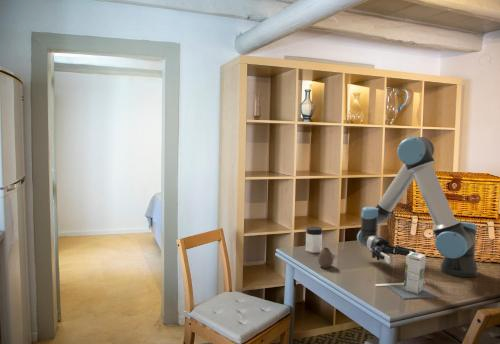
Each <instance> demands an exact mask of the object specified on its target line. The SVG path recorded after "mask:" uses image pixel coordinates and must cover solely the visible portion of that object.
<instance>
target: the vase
mask: <svg viewBox="0 0 500 344" xmlns="http://www.w3.org/2000/svg"><path fill="white" fill-rule="evenodd" d="M317 259H318V260H317V262H318V264H319V265H320V267H321V268H325V269H327V268H328V269H329V268H330V267H332V266H333V263H334V255H333V253H332V251H330V249H329V247H326V246H325V247H323V248H322V250H321V252H319V253H318V256H317Z"/></svg>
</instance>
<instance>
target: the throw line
mask: <svg viewBox="0 0 500 344" xmlns="http://www.w3.org/2000/svg"><path fill="white" fill-rule="evenodd" d="M425 284H426V282H425V281H424V283H423V285H425ZM374 285H375V286H376V287H387V286H399V285H404V282H397V283H396V282H392V283H377V284H374Z"/></svg>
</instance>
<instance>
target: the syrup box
mask: <svg viewBox="0 0 500 344" xmlns="http://www.w3.org/2000/svg"><path fill="white" fill-rule="evenodd" d="M425 269H426V254H423V253H420V252H416V253H414V252H411V253H410V254H408V255H406V256H405V268H404V278H403V279H404V280H403V283H404V290H406V291H409V292H413V293H417V294H418V293H419V292H421V291H422V290H423V287H424V284H423V283H424V282H425Z"/></svg>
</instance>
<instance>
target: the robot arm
mask: <svg viewBox="0 0 500 344" xmlns="http://www.w3.org/2000/svg"><path fill="white" fill-rule="evenodd" d="M396 152H397V153H396V154H397V156H398V159H399V160H400V161H401V162H402V163H403V164H402V167H400V169H399V171H398V172H397V174H396V175H395V177H394V178H393V180H392V181H391V183H390V185H389V186H388V187H387V189H386V191H385V192H384V193H383V195H382V197H381V198H380V199H379V201H378V203H377V205H376V206H364V207H362V209H361V214H360V216H361V219H360V220H361V221H360V222H361V223H360V230H359V231H358V233H357V235H356V239H357V242H358V243H359V244H360V245H361V246H362V247H365V248H367V249H368V250H369V251H370V253H371V258H372V259H375V258H376V260H377V261H379V260H382V261H383V262H385V263H387V264H391V256H389V255H390V254H391V255H399V256H400V255H401V256H405V257H406V255H408V254H410V253H411V252H414V253H417V251H416V249H414V248H408V247H405V246H401V245H398V244H397V245H396V244H395V245H391V244H390V243H389V241H388V240H386V239H385V238H383V237H382V236H379V235H377V233H378V225H380V224H382V223H385V222H387V221H388V220H389V219H390V218H391V213H392V211H393V210H394V209H395V207H396V205H397V204H398V203H399V201H400V200H401V199H402V197H403V195H404V194H405V193H406V191H407V190H408V189H409V187H410V185H411V183H412V182H413V181H414V180H415V182H416V184H417V187H418V190H419V191H420V194H421V196H422V199H423V201H424V203H425V206H426V208H427V210H428V213H429V215H430V218H431V220H432V222H433V228H432V232H433V234H434V237H435V241H434V242H435V243H434V246H435V248H436V250H437V252H438V253H439V254H440V255H442V256H443V258H442V261H441V262H440V266H439V267H440V268H439V269H440V271H441V272H443V273H445V274H447V275H450V276H454V277H459V278H475V277H477V276H478V275H479V274H478V273H479V270H478V267H477V262H476V259H475V254H476V253H475V252H476V251H475V250H476V240H477V239H476V238H477V232H478V229H477V224H475V223H472V222H468V221H467V222H466V221H461V220H459V219H457V218H456V217H455V215H454V212H453V210H452V208H451V205H450V203H449V202H448V199H447V196H446V195H445V192H444V189H443V187H442V185H441V182H440V181H439V178H438V176H437V173H436V172H435V169H434V165H435V164H434V163H435V159H434V152H435V146H434V144H433V142H432V141H431V139H429V138H426V137H423V136H418V137H417V136H411V137H407V138H405V139H403V140H401V142H400V143H399V145H398V147H397V151H396ZM387 254H388V255H387Z"/></svg>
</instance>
